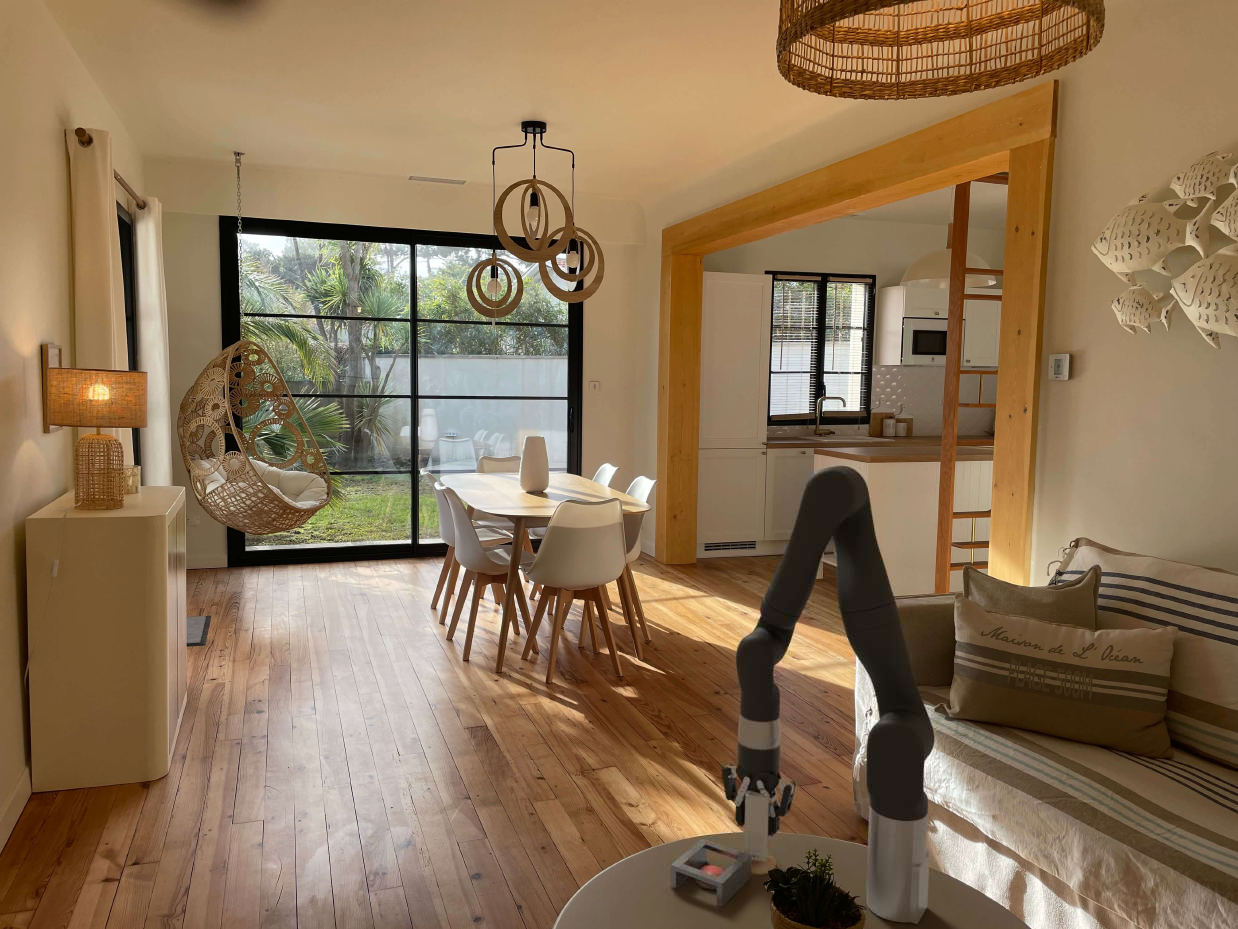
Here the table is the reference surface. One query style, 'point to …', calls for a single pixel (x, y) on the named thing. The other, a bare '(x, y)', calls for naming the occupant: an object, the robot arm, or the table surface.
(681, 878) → the grey square frame
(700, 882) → the button
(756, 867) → the coaster
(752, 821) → the skincare box
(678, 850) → the table surface
